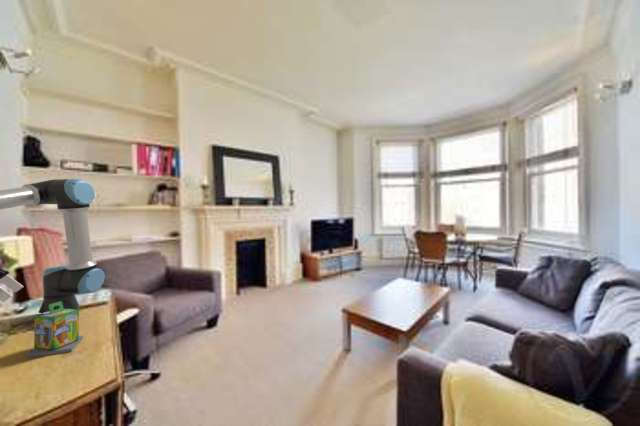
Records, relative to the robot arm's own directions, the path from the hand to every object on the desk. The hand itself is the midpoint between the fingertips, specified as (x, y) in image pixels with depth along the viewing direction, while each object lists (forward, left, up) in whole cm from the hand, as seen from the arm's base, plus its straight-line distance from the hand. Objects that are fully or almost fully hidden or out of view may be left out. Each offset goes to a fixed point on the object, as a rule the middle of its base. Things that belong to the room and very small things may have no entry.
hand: (14, 294), depth 103 cm
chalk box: (0, +12, -20) cm, 23 cm away
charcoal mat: (0, +12, -21) cm, 24 cm away
